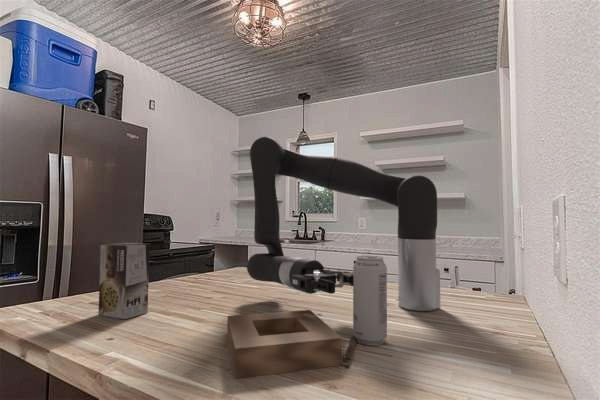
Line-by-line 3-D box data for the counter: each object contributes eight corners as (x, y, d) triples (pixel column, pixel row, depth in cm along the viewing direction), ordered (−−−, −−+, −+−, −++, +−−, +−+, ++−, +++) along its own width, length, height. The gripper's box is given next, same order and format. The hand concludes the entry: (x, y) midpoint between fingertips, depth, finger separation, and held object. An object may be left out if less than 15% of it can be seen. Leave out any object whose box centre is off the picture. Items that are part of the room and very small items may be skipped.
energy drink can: (357, 332, 63) (357, 254, 64) (389, 337, 61) (389, 256, 62) (349, 343, 58) (349, 257, 59) (383, 349, 56) (383, 260, 56)
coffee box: (149, 312, 76) (151, 243, 77) (123, 320, 70) (126, 245, 71) (122, 308, 80) (125, 241, 81) (96, 315, 74) (99, 243, 75)
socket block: (309, 330, 65) (309, 309, 65) (342, 365, 49) (342, 337, 50) (227, 338, 60) (227, 315, 60) (234, 378, 45) (235, 348, 45)
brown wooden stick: (351, 335, 61) (358, 336, 60) (351, 341, 61) (358, 342, 60) (339, 363, 49) (349, 364, 48) (339, 370, 48) (349, 371, 48)
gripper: (275, 260, 73) (322, 269, 60) (324, 256, 82) (374, 263, 68) (275, 294, 73) (322, 310, 60) (324, 286, 81) (374, 300, 68)
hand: (350, 285), depth 64 cm, fingers open, 8 cm apart
